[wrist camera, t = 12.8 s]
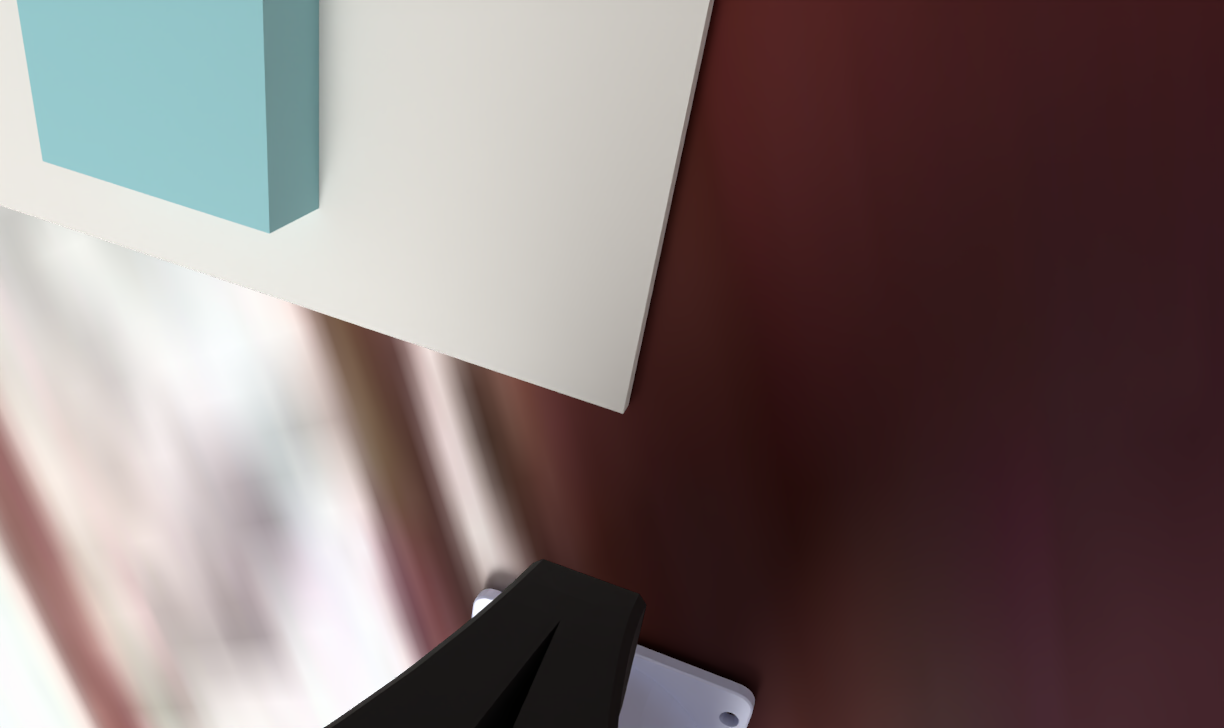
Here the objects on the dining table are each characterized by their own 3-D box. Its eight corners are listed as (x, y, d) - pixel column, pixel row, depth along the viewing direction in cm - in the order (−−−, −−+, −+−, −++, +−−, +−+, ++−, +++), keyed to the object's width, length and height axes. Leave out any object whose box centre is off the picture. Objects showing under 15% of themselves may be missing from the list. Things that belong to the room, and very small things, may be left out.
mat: (628, 405, 21) (622, 413, 21) (7, 199, 25) (-6, 203, 24) (786, -340, 14) (781, -345, 14) (-121, -481, 18) (-141, -487, 17)
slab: (269, 233, 20) (42, 161, 21) (319, 208, 21) (105, 141, 22) (257, -199, 15) (-26, -259, 17) (318, -194, 17) (56, -248, 18)
